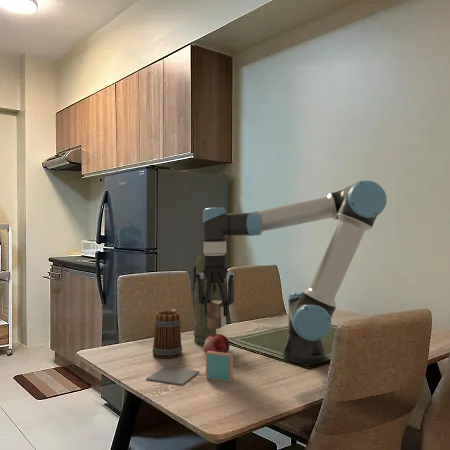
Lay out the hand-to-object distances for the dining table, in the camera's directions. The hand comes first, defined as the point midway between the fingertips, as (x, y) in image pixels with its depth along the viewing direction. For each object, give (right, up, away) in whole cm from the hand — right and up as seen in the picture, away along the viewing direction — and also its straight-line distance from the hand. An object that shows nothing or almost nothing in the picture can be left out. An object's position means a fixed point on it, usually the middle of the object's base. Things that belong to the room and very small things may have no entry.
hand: (216, 325), depth 143 cm
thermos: (-5, -14, +31) cm, 35 cm away
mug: (-18, -14, +16) cm, 27 cm away
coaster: (-13, -14, -9) cm, 21 cm away
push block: (0, 0, 0) cm, 0 cm away
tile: (+1, -14, -12) cm, 18 cm away
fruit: (0, -14, +10) cm, 17 cm away
